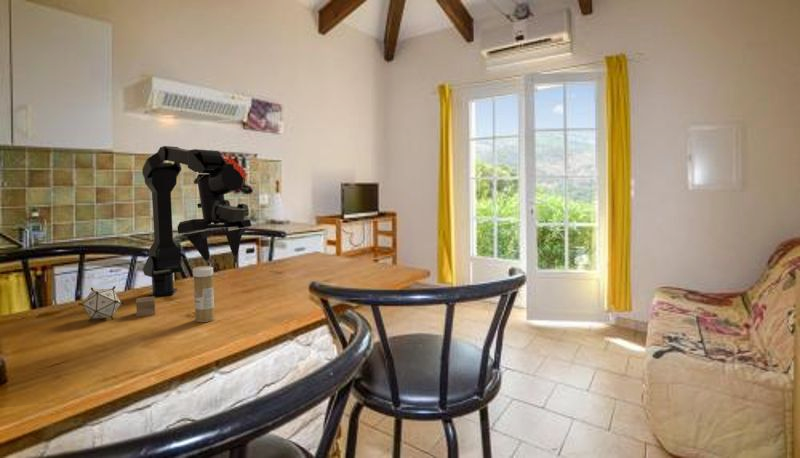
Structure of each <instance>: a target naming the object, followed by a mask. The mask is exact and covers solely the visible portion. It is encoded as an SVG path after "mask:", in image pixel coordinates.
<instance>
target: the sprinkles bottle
mask: <svg viewBox="0 0 800 458" xmlns="http://www.w3.org/2000/svg"><path fill="white" fill-rule="evenodd" d="M192 276H193V283H194V287H193V288H194V292H193V293H194V294H193V295H194V310H195V311H194V314H195V315H194V317H195V318H194V321H195V322H196V323H207V322H211V321H213V320H215V319H216V318H215V297H214V294H215V293H214V267H213V266H210V265H208V266H207V265H202V266H201V265H200V266H195V267H193V268H192Z"/></svg>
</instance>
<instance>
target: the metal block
mask: <svg viewBox="0 0 800 458" xmlns="http://www.w3.org/2000/svg"><path fill="white" fill-rule="evenodd" d="M155 302H156V301H155V296H147V297H145V296H144V297H138V298H136V301H135V305H136V306H135V308H136V318H142V317H149V316H156V303H155Z"/></svg>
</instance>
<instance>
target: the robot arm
mask: <svg viewBox="0 0 800 458" xmlns="http://www.w3.org/2000/svg"><path fill="white" fill-rule="evenodd" d="M167 161H169V162H167ZM172 162H173V163H172ZM181 164H182V165H186V166H187V169H189V170H191V171H193V172H195V173H198V174H197V176H196V178H194V180H193V184H194V185H197V186H198V187H197V188H198V194H199V199H200V200H199V202H200V203H197V209H201V212H202V213H201V214H202V218H196V219H195V218H192V219H188V220H187V219H186V220H183V221H180V222H179V223H178V225H177V226H176V227H177V233H178V235H182V234H183V238H186V239H188V241H189V242H190V243H191V244H192V245H193V246H194V248H195V249H196V250H197V251H198V253H199V254H200V256H201V257H202V259H203V260H204V261H209V260H210V253H209V252H210V251H209V244H208V236H209V234H210V229H211V230H212V229H226V231H225V233H224V234H225V236H226V238H227V242H228V246H229V248H230V251H231V254H232V255H233V257H238V255H239V249H240V244H241V240H242V236H243V235H244V233H245V232H246V231H248V230H249V228H250V227H252V223H251V219H250V218H249V214H250V209H249V206H248V204H246V203H238V204H237V206H234V205H233V206H232V205H231V202H230V201H229V199H226V200H225V195H226V194H230V193H233V192H236V191H238V190H240V189H241V188H242V187H243V185H244V178H243V176H242V174H241V173H240V171H239V170H238V169H236V168H235V165H234V163H228V162H227V160H226V159H225V158H224V156H223V155H222V153H221V152H220V151H219V150H213V149H211V150H210V149H197V148H196V149H195V148H194V149H193V148H192V149H185V148H180V147H179V146H170V145H167V146H166V145H163V146H160V147H159V149H158V151H157V152H156V153H154V154H153V155H150V156H149V157H148V158H146V161H145V163H144V165H143V167H142V177H144V183H145V186H146V187H147V189H149V190H150V192H151V197H152V198H151V199H152V201H151V202H152V216H153V217H152V219H153V235H154V236H153V237H154V238H153V239H154V241H153V243H152V244H151V246H150V247H149V249H148V257H147V259H146V261H145V263H144V265H143V268H142V271H143V274H144V276H147V277H150V278H151V287H152V288H151V290H152V291H151V292H150V293H149V294H148V297H153V296H154V297H160V296H161V297H162V296H173V295H174V294H175V293H176V292H178V288H177V287H175V286H174V282H175V281H174V274H175V273H181V268H182V267H181V266H182V260H183V259H182V254H181V253H182V252H181V250H182V249H181V247H180V246H178V245H177V244H176V243H175V241H174V234H173V232H174V231H173V214H172V213H173V212H172V210H173V209H172V192H173V190H174V188H175V187H176V185H177V182H178V181H177V179H178V177H179V174H180V173H181V171H182V167H181Z"/></svg>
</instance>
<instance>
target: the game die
mask: <svg viewBox="0 0 800 458" xmlns="http://www.w3.org/2000/svg"><path fill="white" fill-rule="evenodd" d="M115 289H116V285H114V286H113V287H112V288H101V289H94V287H90V291H91V292H89V294H88V295H87V296H86V298H85V299H84V300H83V301H82V302H79V303H77V305H78V306H82V307H83V309H84V310H85V312H86V314H87V315H88V317H89V319H88V320H87V321H88V323H89V322H91V321H92V320H94V319H105V318H106V319H107V318H110V319H111V320H114V319H115V318H114V315H115V313H116V311H117V310H118V309H119V308H120V306H121V305H124V304H125V302H124V301H123V302H122V301H121V299H120V298H119V296H118V295H117V293H116V291H115Z"/></svg>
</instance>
